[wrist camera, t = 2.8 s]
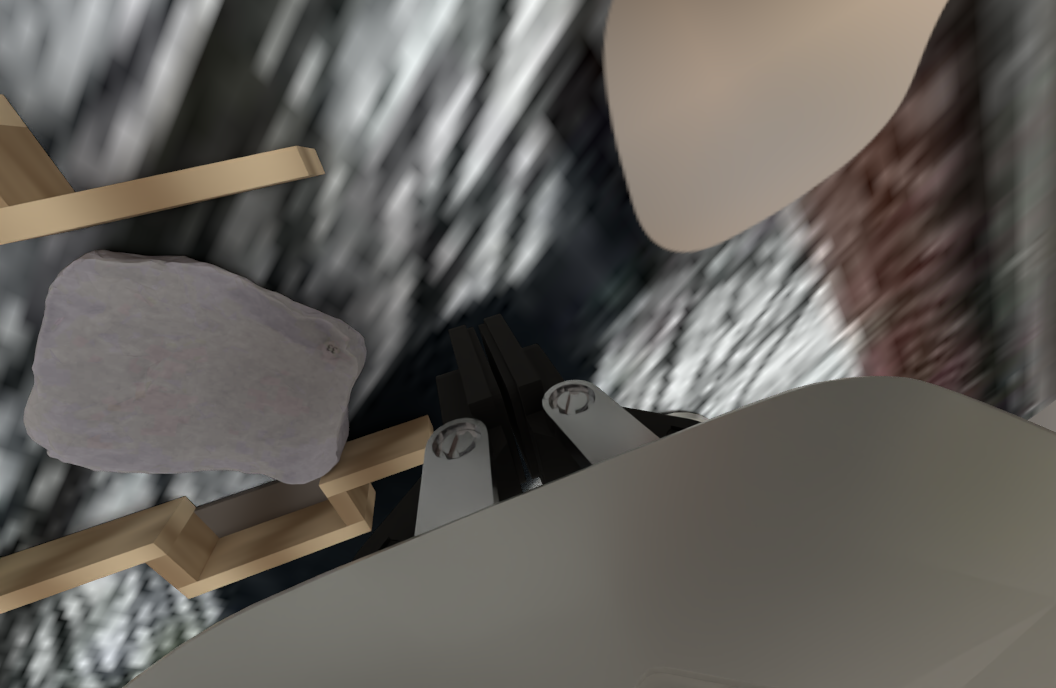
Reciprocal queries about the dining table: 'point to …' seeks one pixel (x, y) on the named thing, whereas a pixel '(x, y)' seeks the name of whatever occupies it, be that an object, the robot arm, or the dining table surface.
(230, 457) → the stone block
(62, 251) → the dining table surface
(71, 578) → the box
